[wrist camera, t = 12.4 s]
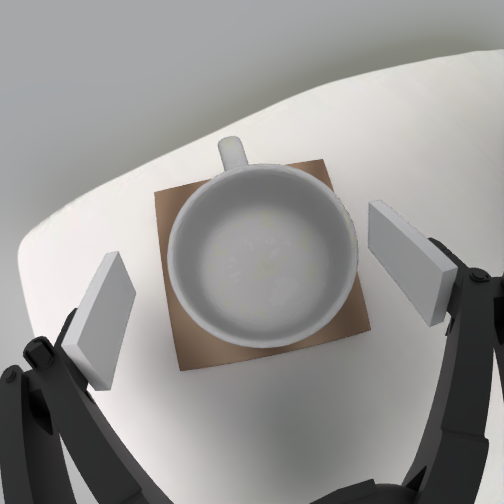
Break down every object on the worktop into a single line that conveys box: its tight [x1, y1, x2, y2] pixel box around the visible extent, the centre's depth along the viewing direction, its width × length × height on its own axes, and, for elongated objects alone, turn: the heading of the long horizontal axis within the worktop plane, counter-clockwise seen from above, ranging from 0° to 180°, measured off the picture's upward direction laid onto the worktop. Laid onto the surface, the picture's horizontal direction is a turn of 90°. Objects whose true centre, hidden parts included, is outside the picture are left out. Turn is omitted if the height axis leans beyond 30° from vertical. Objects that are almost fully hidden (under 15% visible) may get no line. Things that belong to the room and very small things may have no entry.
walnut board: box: [154, 159, 371, 371], centre depth 26 cm, size 16×16×2 cm
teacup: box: [167, 136, 358, 348], centre depth 21 cm, size 14×11×8 cm
